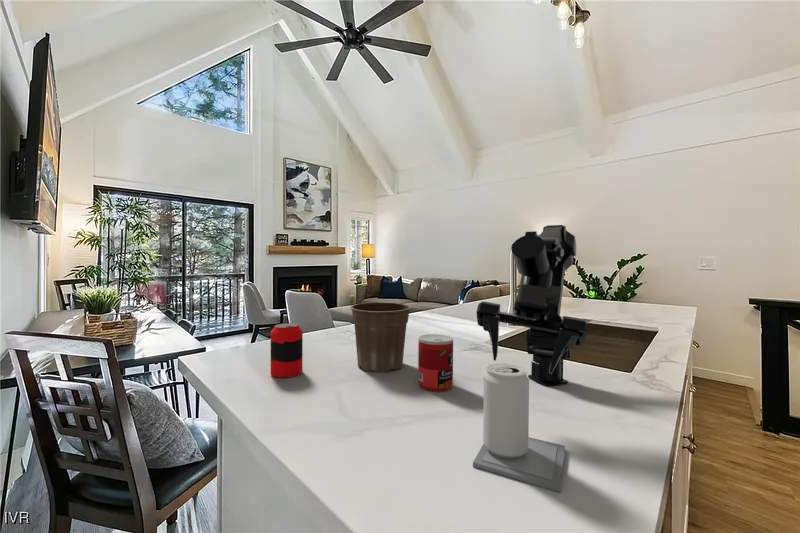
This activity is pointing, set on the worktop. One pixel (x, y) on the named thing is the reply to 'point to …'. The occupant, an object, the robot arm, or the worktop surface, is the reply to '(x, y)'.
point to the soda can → (286, 350)
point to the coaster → (528, 464)
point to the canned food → (435, 362)
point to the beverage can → (506, 410)
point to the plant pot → (380, 335)
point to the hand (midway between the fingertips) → (521, 366)
